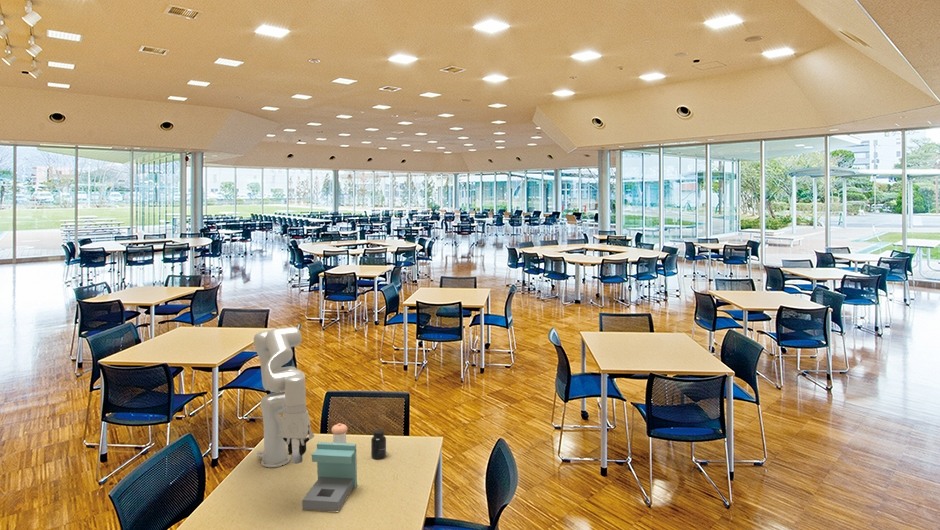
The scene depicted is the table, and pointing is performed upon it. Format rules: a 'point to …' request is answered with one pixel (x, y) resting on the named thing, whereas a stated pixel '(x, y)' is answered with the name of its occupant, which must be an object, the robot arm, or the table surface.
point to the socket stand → (332, 476)
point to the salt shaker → (339, 433)
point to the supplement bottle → (378, 445)
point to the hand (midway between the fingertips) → (297, 453)
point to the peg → (296, 451)
